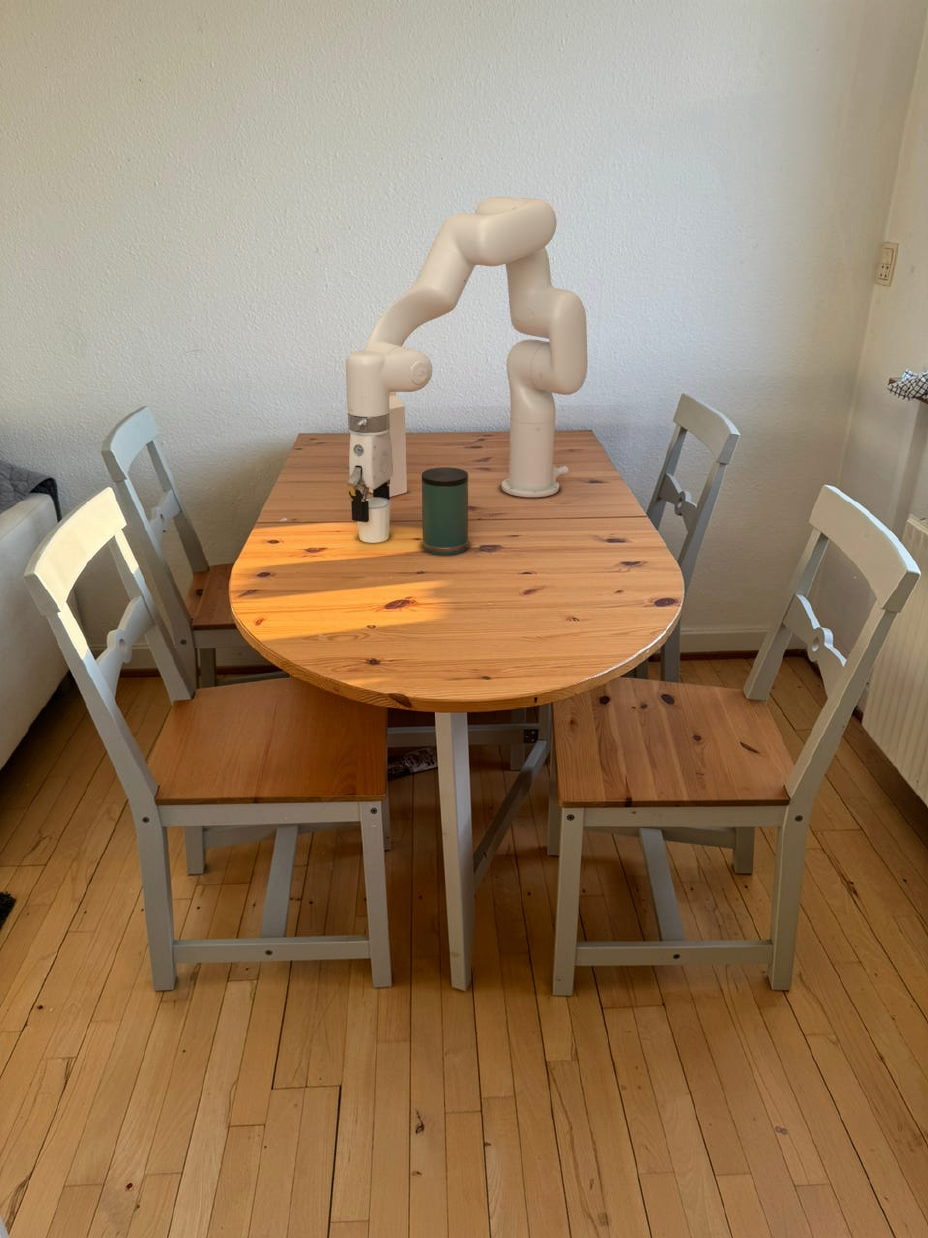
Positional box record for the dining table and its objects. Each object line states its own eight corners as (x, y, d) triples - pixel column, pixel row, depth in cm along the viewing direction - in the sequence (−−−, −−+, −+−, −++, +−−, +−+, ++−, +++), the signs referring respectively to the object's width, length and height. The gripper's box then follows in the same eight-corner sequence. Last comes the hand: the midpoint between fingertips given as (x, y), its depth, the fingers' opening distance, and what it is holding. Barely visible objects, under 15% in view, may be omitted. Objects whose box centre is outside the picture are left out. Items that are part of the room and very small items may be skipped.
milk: (407, 492, 204) (405, 390, 194) (385, 498, 200) (382, 394, 191) (389, 485, 208) (387, 385, 198) (367, 491, 204) (364, 389, 195)
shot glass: (397, 533, 182) (396, 498, 179) (383, 545, 176) (382, 510, 173) (365, 529, 184) (363, 494, 181) (350, 541, 178) (348, 506, 175)
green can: (449, 535, 181) (449, 464, 175) (477, 548, 175) (478, 475, 169) (413, 544, 176) (412, 472, 170) (440, 558, 170) (439, 484, 164)
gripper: (368, 435, 162) (371, 530, 169) (406, 414, 176) (406, 501, 184) (328, 431, 164) (332, 525, 171) (369, 410, 179) (371, 497, 186)
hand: (371, 512), depth 177 cm, fingers open, 9 cm apart
